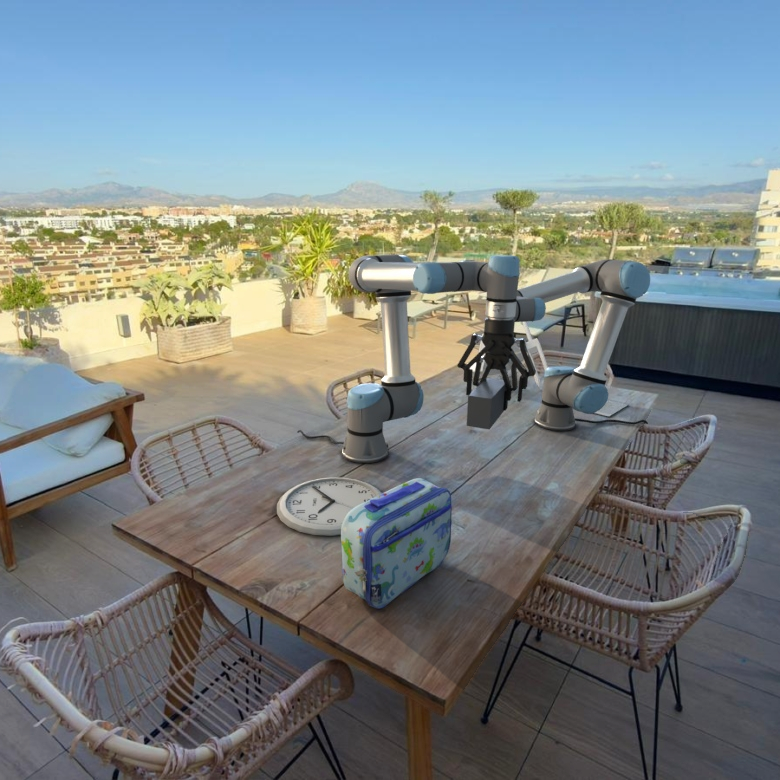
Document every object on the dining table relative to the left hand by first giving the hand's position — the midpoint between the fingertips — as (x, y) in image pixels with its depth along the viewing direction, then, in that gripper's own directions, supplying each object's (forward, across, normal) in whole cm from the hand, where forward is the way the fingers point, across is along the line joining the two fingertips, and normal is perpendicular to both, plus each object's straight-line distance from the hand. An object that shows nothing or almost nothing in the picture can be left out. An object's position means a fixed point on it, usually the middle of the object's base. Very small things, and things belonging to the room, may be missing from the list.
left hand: (493, 397), depth 140 cm
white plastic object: (+30, -14, +116) cm, 121 cm away
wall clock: (+30, -38, -21) cm, 53 cm away
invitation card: (+30, +30, +99) cm, 108 cm away
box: (+16, -6, +27) cm, 32 cm away
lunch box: (+30, -10, -44) cm, 54 cm away
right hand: (+15, -6, +35) cm, 38 cm away
